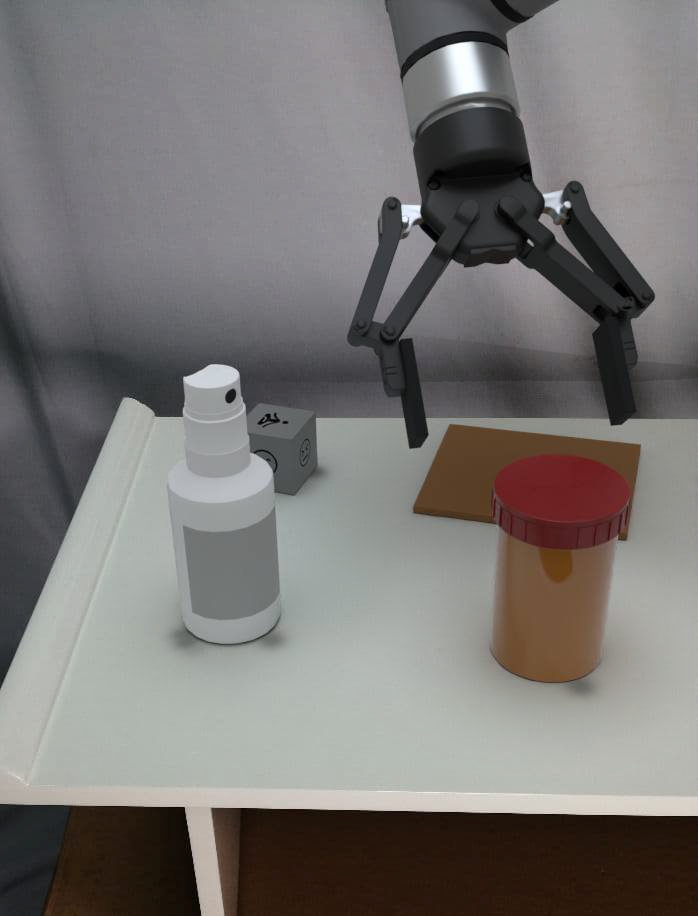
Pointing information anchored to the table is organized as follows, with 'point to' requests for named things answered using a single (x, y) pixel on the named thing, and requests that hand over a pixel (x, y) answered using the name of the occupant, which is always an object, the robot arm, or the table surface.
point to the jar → (550, 608)
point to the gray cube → (284, 443)
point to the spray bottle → (223, 516)
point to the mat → (489, 450)
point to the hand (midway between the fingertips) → (522, 431)
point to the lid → (560, 501)
